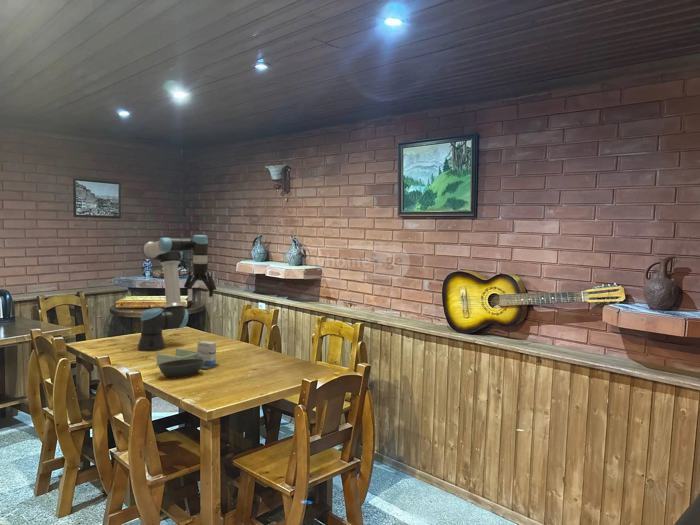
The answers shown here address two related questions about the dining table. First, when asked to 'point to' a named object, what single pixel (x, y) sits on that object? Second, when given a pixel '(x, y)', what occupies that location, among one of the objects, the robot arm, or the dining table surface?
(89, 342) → the dining table surface
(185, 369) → the bowl
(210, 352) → the ink box
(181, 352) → the grey open box
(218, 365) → the stand mat
